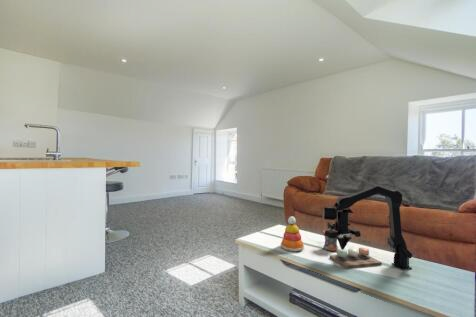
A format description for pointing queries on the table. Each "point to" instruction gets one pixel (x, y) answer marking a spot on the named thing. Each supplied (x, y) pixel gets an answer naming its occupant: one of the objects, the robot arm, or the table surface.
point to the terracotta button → (363, 251)
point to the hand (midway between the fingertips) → (342, 249)
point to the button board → (355, 261)
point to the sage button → (342, 253)
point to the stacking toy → (292, 237)
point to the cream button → (352, 252)
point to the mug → (330, 243)
